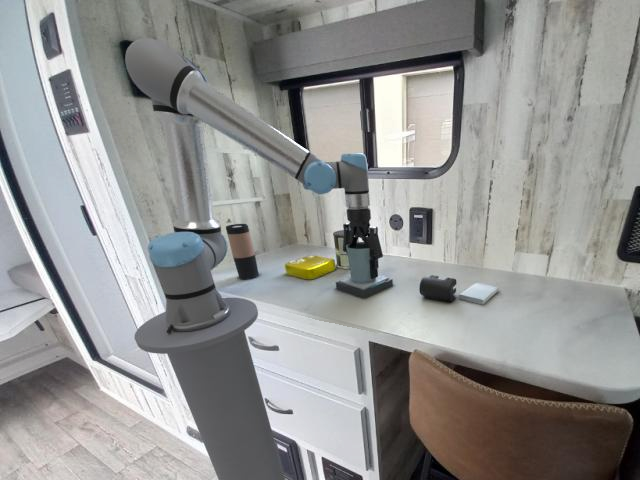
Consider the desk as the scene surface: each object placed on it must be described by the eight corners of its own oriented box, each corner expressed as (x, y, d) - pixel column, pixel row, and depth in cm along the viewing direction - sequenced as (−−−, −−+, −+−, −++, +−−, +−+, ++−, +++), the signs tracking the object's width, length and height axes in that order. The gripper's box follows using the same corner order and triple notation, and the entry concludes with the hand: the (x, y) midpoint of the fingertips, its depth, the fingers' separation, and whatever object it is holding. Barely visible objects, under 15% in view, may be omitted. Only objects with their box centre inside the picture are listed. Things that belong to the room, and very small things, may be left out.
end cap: (419, 300, 97) (419, 279, 94) (428, 292, 102) (428, 272, 99) (449, 305, 92) (449, 285, 89) (457, 297, 98) (458, 277, 95)
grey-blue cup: (343, 279, 107) (340, 245, 102) (367, 272, 113) (365, 239, 108) (360, 286, 100) (357, 250, 95) (384, 278, 106) (383, 244, 101)
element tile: (310, 280, 115) (308, 268, 113) (284, 274, 123) (281, 263, 121) (337, 269, 127) (336, 258, 125) (312, 264, 134) (310, 253, 132)
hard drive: (483, 300, 91) (498, 286, 100) (458, 294, 96) (475, 281, 105) (483, 305, 92) (498, 291, 101) (458, 299, 97) (475, 286, 105)
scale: (364, 298, 99) (363, 289, 97) (336, 289, 107) (335, 280, 106) (392, 285, 108) (392, 277, 107) (365, 277, 117) (364, 269, 115)
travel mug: (234, 279, 119) (220, 227, 111) (247, 272, 126) (235, 223, 118) (251, 280, 117) (238, 227, 109) (263, 273, 124) (252, 223, 116)
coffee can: (331, 266, 130) (327, 233, 124) (347, 260, 138) (344, 228, 132) (350, 270, 125) (347, 235, 119) (365, 263, 133) (363, 230, 127)
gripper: (392, 208, 92) (395, 278, 102) (344, 204, 106) (350, 266, 115) (375, 211, 87) (379, 284, 97) (326, 206, 100) (334, 271, 110)
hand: (363, 274), depth 106 cm, fingers closed on grey-blue cup, 9 cm apart
